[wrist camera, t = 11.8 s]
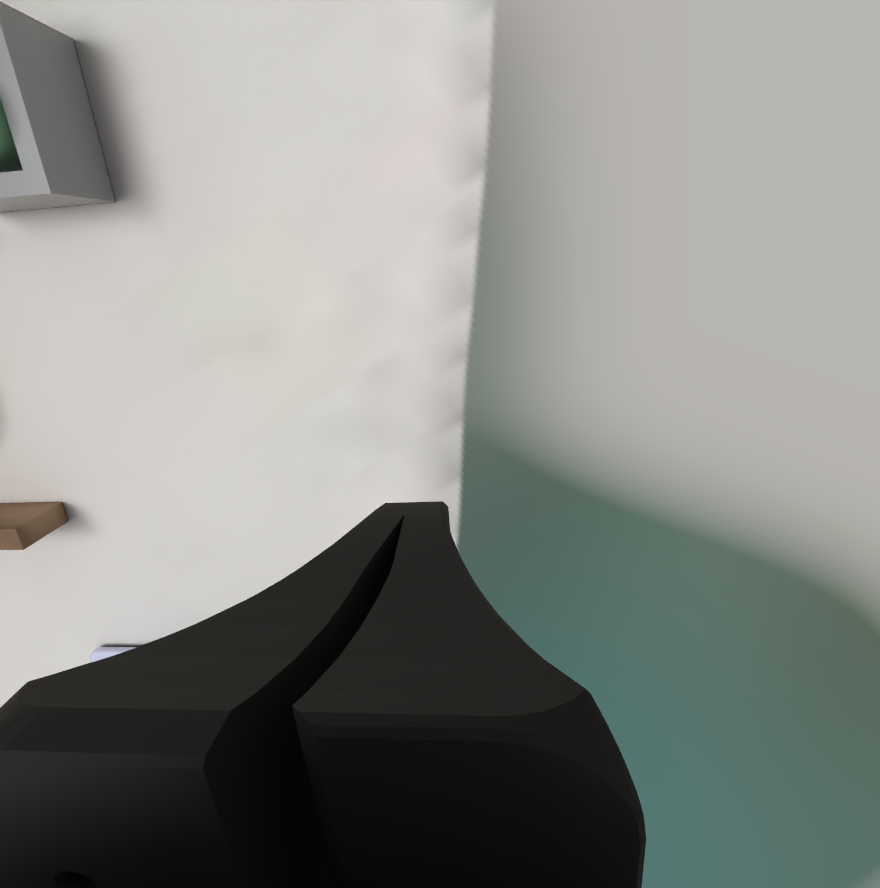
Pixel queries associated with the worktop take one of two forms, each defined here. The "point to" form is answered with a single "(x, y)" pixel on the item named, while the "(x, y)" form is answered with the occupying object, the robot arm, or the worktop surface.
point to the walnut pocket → (28, 523)
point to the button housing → (47, 120)
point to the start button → (7, 146)
